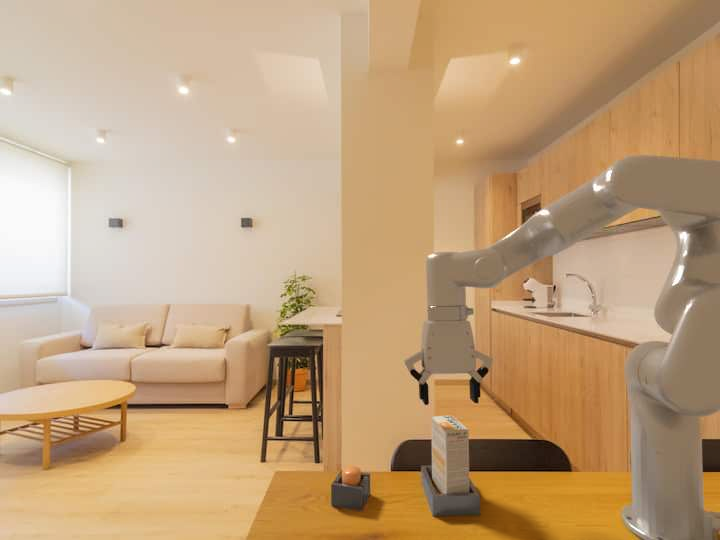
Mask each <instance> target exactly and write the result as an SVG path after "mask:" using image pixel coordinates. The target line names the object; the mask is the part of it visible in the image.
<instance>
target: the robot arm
mask: <svg viewBox="0 0 720 540" xmlns="http://www.w3.org/2000/svg"><path fill="white" fill-rule="evenodd" d="M638 209H644V210H652V211H657V212H658V214H659V217H660V218H662V220H663V222H665V224H666V225H667V226H668V227H669V229H670V230H671V231H672V232H673V234H674V235H673V236H675V240H676V251H675V252H676V253H675V256H674V259H673V262H672V266H671V268H670V270H669V273H668V274H667V276H666V280H665V282H664V284H663V286H662V288H661V291H660V294H659V295H658V298H657V300H656V303H655V305H654V311H653V316H654V319H655V322H656V324H657V325H658V326H659V327H660V328H661V329H662V330H663V331H665V332H666V333H668V334H670V335H671V337H670V339H669V342H668V341H667V342H666V341H661V340H649V341H644V342H641V343H639V344H637V345H636V346H634V347H633V348H632V349H631V350H630V351H629V352H628V354H627V356H626V359H625V362H624V378H625V385H626V386H625V387H626V390H627V398H628V405H629V421H630V422H629V423H630V424H629V426H630V460H631V461H630V463H631V465H630V466H631V502H632V503H628V504H626V505H625V506H623V508H622V509H621V520H622V521H623V524H624V525H625V527H627V528H628V529H629V530H630V531H631V532H632V533H633V534H635V535H636V536H637V537H639V538H640V539H642V540H718V537H717V536H716V534H719V533H720V512H718V511H711V510H710V511H709V510H705V508H704V506H705V504H704V477H703V476H704V473H703V472H704V471H703V436H702V435H703V433H702V431H703V430H702V424H701V419H700V418H702V417H703V418H705V417H709V416H712V415H714V414H718V413H719V412H720V160H714V159H712V160H711V159H699V158H688V157H687V158H686V157H678V156H676V157H675V156H665V155H664V156H662V155H650V154H649V155H648V154H646V155H645V154H642V155H641V154H639V155H638V154H637V155H628V156H625V157H622V158H620V159H617V160H616V161H615V162H613V163H612V164H611V165H609V166H608V167H607V168H606V169H604V171H603V172H601V173H600V174H598V175H596V176H594V177H593V178H592V179H590V180H588V181H587V182H585V183H583V184H581V185H580V186H579V187H577V188H574V189H573V190H571V191H570V192H568V193H567V194H565V195H563V196H562V197H560V198H558V199H557V200H555V201H552V202H551V203H550V204H548V205H546V206H545V207H542V208H541V209H539V211H537V212H536V213H534V214H533V215H532V216H531V217H529V218H527V220H526V221H525V222H524V223H522V224H521V226H519V227H517V228H516V229H515V230H514V231H512V232H510V233H509V234H508V235H506V236H504V237H503V238H502V239H499V240H498V241H496V242H494V243H493V244H491V245H489V246H488V247H486V248H478V249H473V250H469V251H462V252H461V251H460V252H458V251H440V252H433V253H430V254H429V255H427V257H426V259H425V276H426V277H425V279H426V305H427V312H426V313H427V320H426V321H423V323H422V324H423V325H422V331H421V344H420V346H421V347H420V351H418V352H416V353H414V354H413V355H411V356H409V357H407V358H406V359H405V360H404V365H405V366H406V368H407V370H408V372H409V374H410V376H412V377H413V378H414V379H415V380H416V381H417V382H418V392H419V393H418V394H419V395H418V396H419V400H420V401H421V400H422V401H421V402H423V404H424V406H428V405H429V404H430V401H429V395H430V394H429V384H428V383H427V381H428V380H429V378H430V377H431V376H432V375H446V374H447V375H452V374H455V375H457V374H468V375H469V376H470V377H471V378H470V379H469V381H468V382H469V399H470V400H471V401H472V402H473V403H475V404H479V398H481V383H482V382H483V379H484V378H485V377H486V376H487V374H489V371H490V369H491V366H492V364H493V362H494V359H493V358H492V357H490V356H489V355H486V354H485V353H482V352H480V351H479V350H477V349H476V347H475V338H474V333H473V329H472V325H471V322H470V321H469V320H468V318H469V316H471V315H472V316H473V315H475V314H474V313H475V312H474V308H473V307H468V305H467V297H466V296H467V295H466V293H467V292H466V289H467V288H477V289H484V290H485V289H491V288H492V289H493V288H495V287H497V286H499V285H500V284H501V283H503V281H504V280H506V279H508V278H509V277H511V276H512V275H514V274H516V273H518V272H519V271H521V270H523V269H525V268H527V267H529V266H530V265H533V264H534V263H537V262H538V261H541V260H543V259H545V258H548V257H551V256H553V255H557V254H558V253H560V252H563V251H564V250H566V249H568V248H570V247H572V246H574V245H576V244H578V243H579V242H581V241H582V240H584V239H586V238H588V237H590V236H591V235H593V234H595V233H596V232H598V231H600V230H602V229H603V228H605V227H607V226H609V225H611V224H612V223H614V222H616V221H619V219H621V218H623V217H625V216H627V215H629V214H631V213H632V212H634V211H636V210H638ZM477 359H479V360H481V361H482V364H481V365H480V367H479V368H478V369H477V370H476V368H477ZM419 361H420V363H421V364H420V365H421V366H422V370H421V371H420V372H419V371H417V370H416V368H415V366H414V365H415V364H416V363H417V362H419Z"/></svg>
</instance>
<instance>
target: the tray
mask: <svg viewBox="0 0 720 540" xmlns="http://www.w3.org/2000/svg"><path fill="white" fill-rule="evenodd" d="M420 481H421V482H420V483H421V485H422V489H423V491H424V494H425V497H426V500H427V503H428V506H429V509H430V512H431V515H432V517H451V516H452V517H455V516H457V517H458V516H460V517H462V516H463V517H464V516H481V495H480V493H479V491H478V490H477V488H476V487H475V485H474V483H473V481H472V480H471V477H469V492H470V493H455V494H441V492H440V491H439V490H438V488H437V487H436V485H435V484H434V482H433V481H432V464H431V465H429V464H428V465H420Z"/></svg>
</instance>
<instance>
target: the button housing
mask: <svg viewBox="0 0 720 540" xmlns="http://www.w3.org/2000/svg"><path fill="white" fill-rule="evenodd" d="M342 470H343V469H341V470H340V471H339V473H338V474H337V476H336V477H335V478H334V480H333V482H332V483H331V484H330V485H331V486H330V489H331V490H330V491H331V497H330V499H331V500H330V502H331V507H335V508H341V509H347V510H352V511H356V512H357V511H358V512H363V509H364V507H365V505H366V503H367V501H368V499H369V497H371V496H370V495H371V473H370V472H369V473H368V472H362V471H360V475H361V483H360V485H359V486H353V485H347V484H342Z"/></svg>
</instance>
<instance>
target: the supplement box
mask: <svg viewBox="0 0 720 540" xmlns="http://www.w3.org/2000/svg"><path fill="white" fill-rule="evenodd" d="M430 419H431V420H430V423H431V424H430V425H431V427H430V429H431V431H430V432H431V465H432V481H433V482H434V484H435V485H436V487H437V488H438V490H439V491H440V492H441V494H455V493H470V492H469V478H470V451H469V450H470V448H469V447H470V446H469V443H470V442H469V441H470V439H469V438H470V437H469V436H470V435H469V428H467V427H466V426H465V424H463V423H462V422H460V421H459V420H458V419H457V418H456V417H454V416H453V415H435V416H431V418H430Z"/></svg>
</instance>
